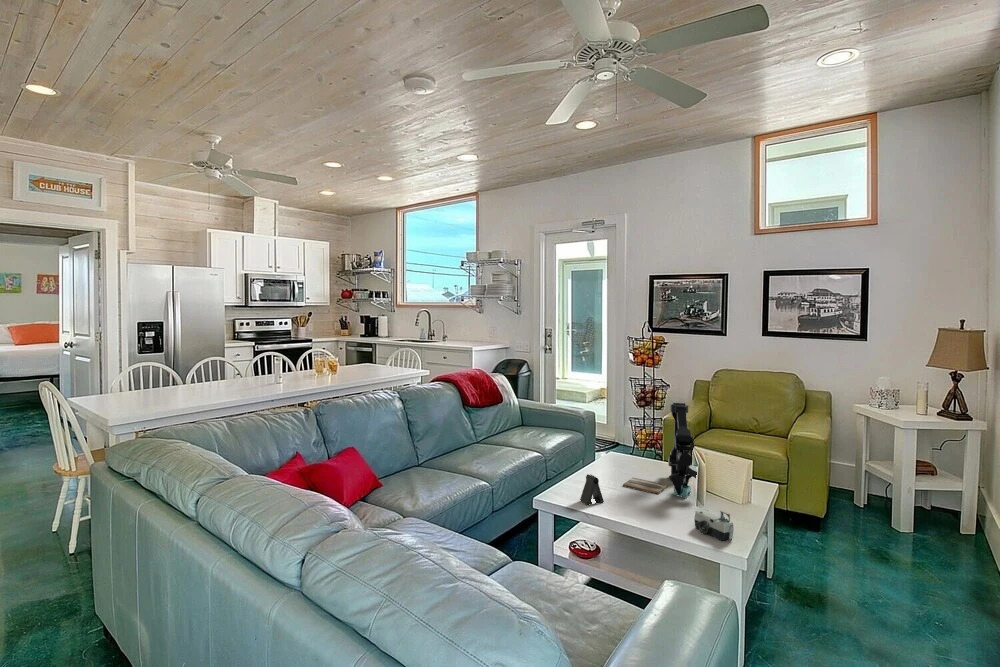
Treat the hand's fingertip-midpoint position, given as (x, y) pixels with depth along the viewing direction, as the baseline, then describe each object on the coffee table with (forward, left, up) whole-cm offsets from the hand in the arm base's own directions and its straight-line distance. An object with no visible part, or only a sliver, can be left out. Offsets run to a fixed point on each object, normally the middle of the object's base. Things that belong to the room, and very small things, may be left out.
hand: (682, 492), depth 242 cm
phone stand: (+34, -30, -2) cm, 46 cm away
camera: (+35, +23, -2) cm, 42 cm away
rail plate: (0, -18, -1) cm, 18 cm away
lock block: (0, 0, -1) cm, 1 cm away
